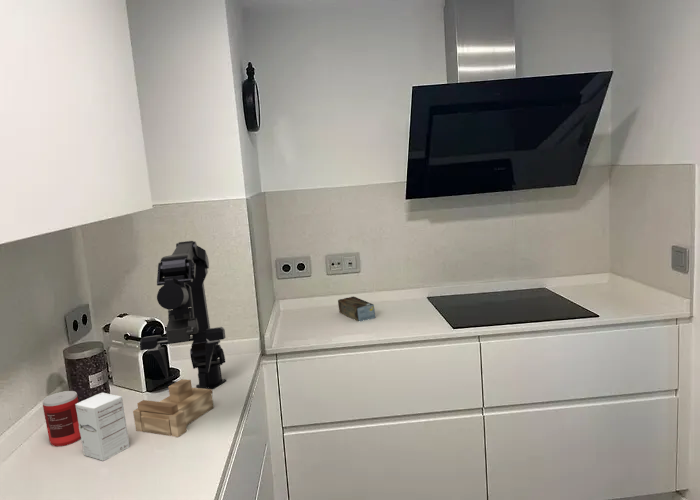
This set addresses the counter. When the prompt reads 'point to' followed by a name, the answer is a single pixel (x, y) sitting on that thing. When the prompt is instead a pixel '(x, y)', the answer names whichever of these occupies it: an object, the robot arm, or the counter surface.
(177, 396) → the lid
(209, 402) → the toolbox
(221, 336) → the robot arm
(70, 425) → the canned food
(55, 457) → the counter surface
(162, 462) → the counter surface
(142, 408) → the brown wooden bar
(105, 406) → the supplement box
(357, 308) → the beverage carton
